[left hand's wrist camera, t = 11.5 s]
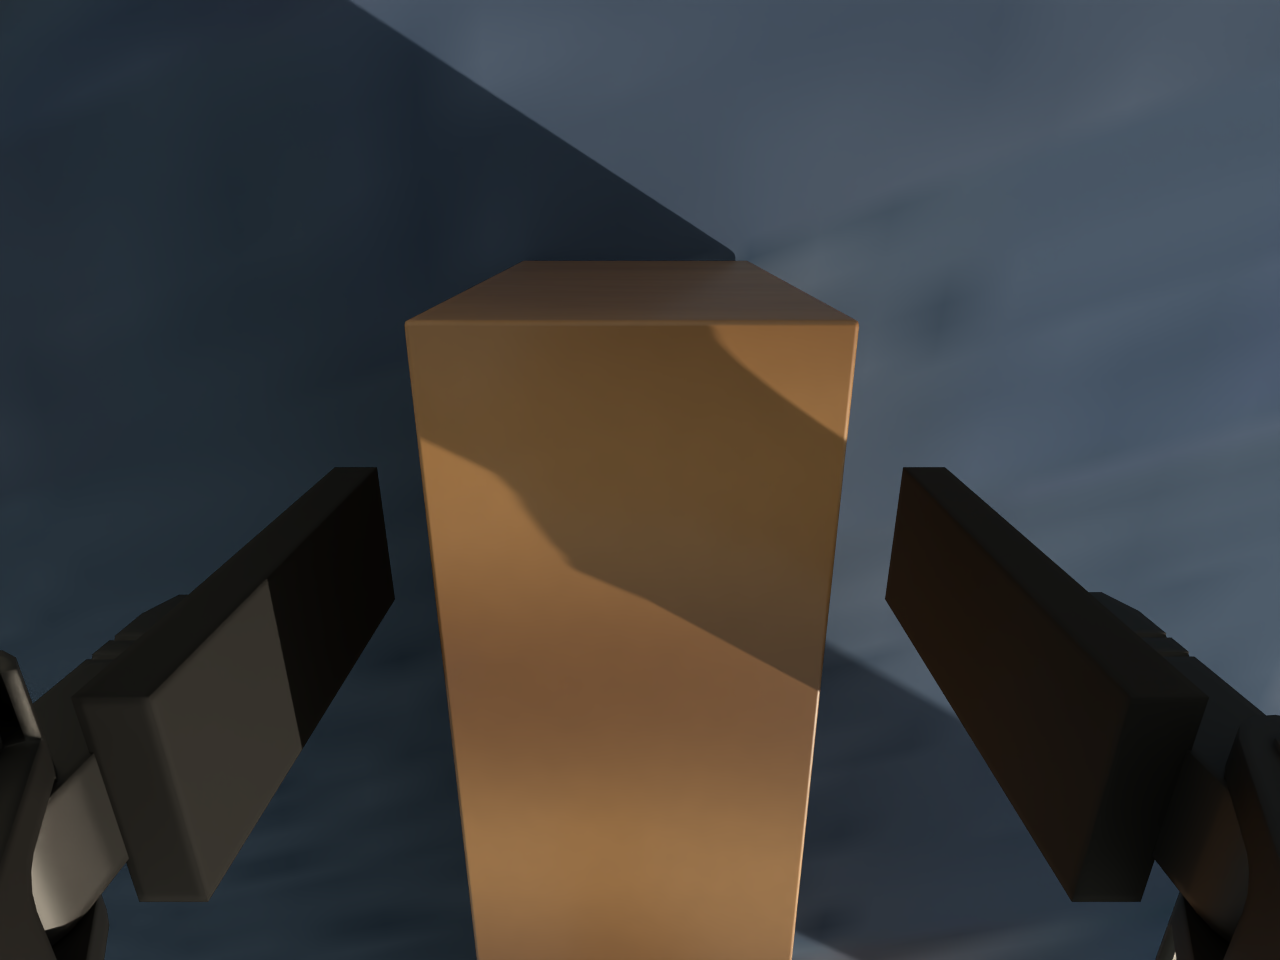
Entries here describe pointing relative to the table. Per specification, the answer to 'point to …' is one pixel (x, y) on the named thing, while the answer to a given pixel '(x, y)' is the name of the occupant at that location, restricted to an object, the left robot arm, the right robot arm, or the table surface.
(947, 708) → the table surface
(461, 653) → the beam
